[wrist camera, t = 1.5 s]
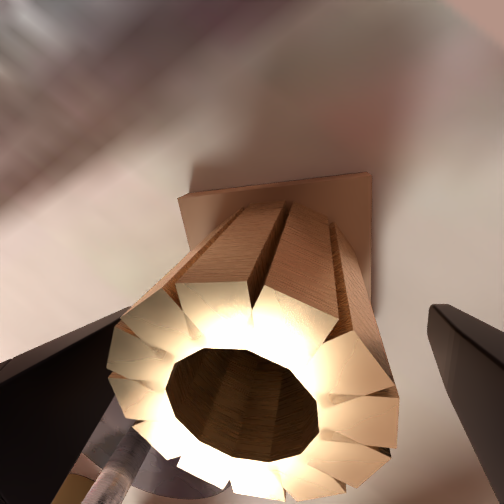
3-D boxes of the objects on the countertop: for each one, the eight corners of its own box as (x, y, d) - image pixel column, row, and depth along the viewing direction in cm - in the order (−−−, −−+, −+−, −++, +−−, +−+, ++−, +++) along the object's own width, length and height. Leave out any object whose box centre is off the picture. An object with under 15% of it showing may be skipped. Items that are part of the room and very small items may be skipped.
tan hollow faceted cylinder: (355, 193, 9) (406, 276, 4) (357, 338, 11) (392, 520, 6) (192, 209, 11) (67, 286, 5) (221, 335, 13) (152, 478, 8)
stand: (367, 171, 10) (394, 194, 6) (367, 332, 12) (386, 413, 9) (188, 193, 12) (130, 220, 8) (220, 330, 14) (186, 397, 11)
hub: (223, 345, 15) (167, 470, 9) (258, 495, 19) (235, 636, 14) (33, 339, 18) (-90, 429, 12) (102, 469, 23) (34, 574, 17)
